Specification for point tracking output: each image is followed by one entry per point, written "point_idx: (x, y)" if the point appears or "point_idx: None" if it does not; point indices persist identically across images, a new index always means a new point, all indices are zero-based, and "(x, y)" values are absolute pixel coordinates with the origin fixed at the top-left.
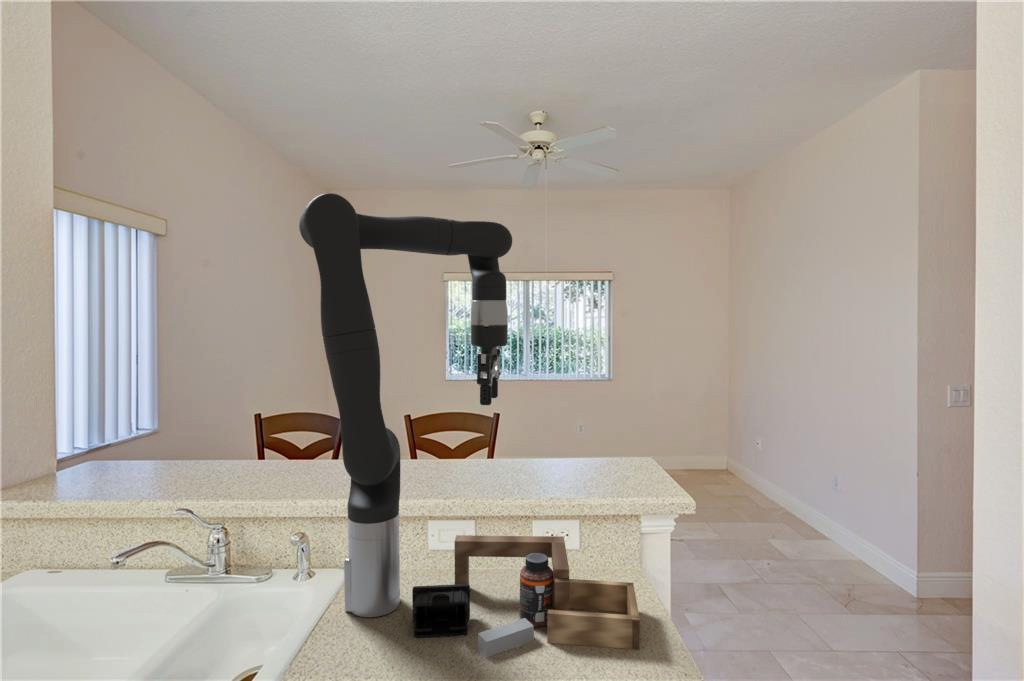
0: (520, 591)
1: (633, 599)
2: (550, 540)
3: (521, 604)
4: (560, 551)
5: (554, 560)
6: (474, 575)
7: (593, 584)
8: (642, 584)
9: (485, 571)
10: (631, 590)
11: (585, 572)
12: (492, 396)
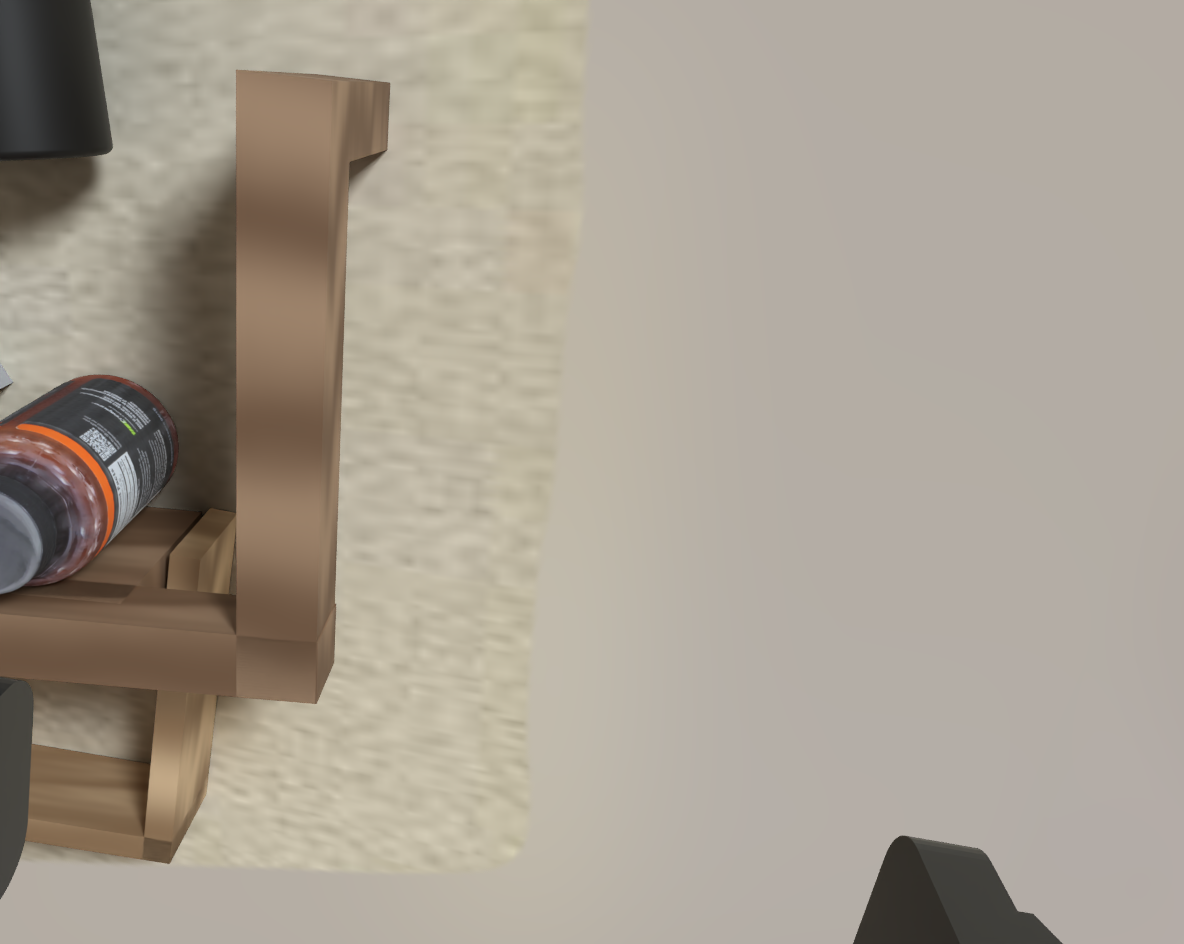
0: (39, 407)
1: (31, 832)
2: (261, 632)
3: (45, 396)
4: (121, 660)
5: (11, 618)
6: (511, 180)
7: (155, 717)
8: (397, 871)
9: (551, 239)
10: (103, 842)
11: (511, 690)
12: (875, 936)
